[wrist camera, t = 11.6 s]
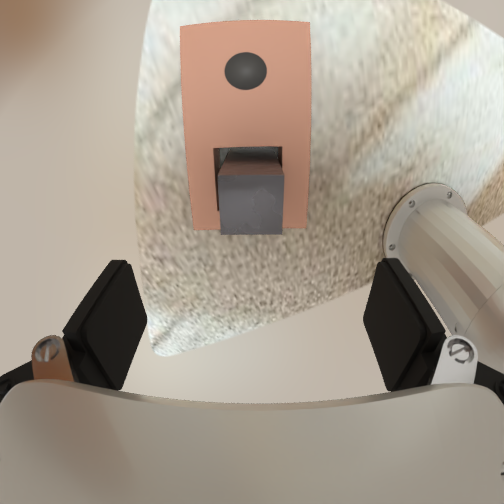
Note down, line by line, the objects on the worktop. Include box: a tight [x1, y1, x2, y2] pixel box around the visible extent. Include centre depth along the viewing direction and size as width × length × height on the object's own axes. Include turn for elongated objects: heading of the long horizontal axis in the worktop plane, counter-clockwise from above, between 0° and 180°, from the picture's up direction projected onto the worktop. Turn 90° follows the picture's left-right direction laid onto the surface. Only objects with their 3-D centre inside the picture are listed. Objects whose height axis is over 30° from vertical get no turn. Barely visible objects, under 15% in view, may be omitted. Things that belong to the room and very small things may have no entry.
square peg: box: [218, 148, 285, 235], centre depth 22 cm, size 4×4×10 cm
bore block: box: [180, 20, 311, 230], centre depth 22 cm, size 18×10×4 cm, turn 1°
